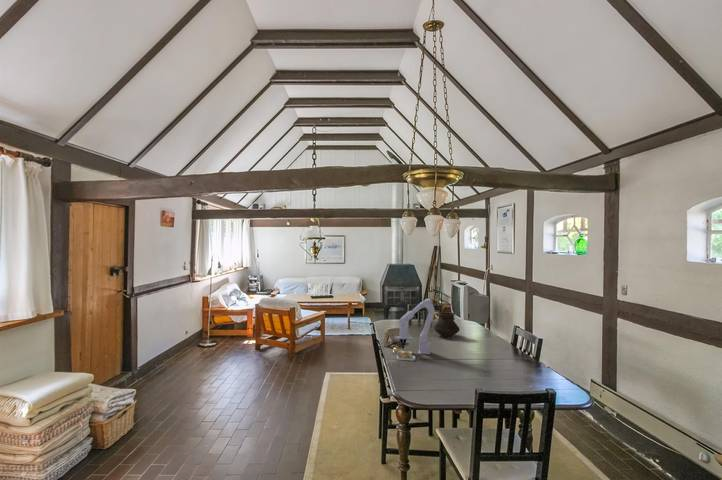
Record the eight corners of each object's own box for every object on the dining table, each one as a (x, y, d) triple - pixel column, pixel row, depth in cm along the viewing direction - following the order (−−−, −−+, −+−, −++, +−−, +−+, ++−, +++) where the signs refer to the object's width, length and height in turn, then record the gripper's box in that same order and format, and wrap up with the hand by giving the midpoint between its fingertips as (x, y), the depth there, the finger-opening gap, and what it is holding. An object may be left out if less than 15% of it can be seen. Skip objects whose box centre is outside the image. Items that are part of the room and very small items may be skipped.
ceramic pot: (464, 337, 355) (464, 314, 355) (446, 340, 343) (446, 316, 343) (446, 332, 376) (446, 310, 376) (428, 335, 364) (428, 312, 364)
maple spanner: (411, 356, 290) (411, 351, 290) (411, 358, 286) (411, 352, 286) (397, 355, 292) (397, 350, 292) (397, 357, 287) (397, 352, 287)
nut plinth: (402, 351, 309) (402, 349, 309) (401, 354, 300) (401, 353, 300) (391, 350, 310) (391, 349, 310) (390, 353, 301) (390, 352, 301)
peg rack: (415, 357, 292) (415, 352, 292) (415, 360, 283) (415, 355, 283) (397, 356, 294) (397, 351, 294) (396, 359, 285) (396, 354, 285)
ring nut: (400, 352, 302) (400, 348, 302) (392, 351, 302) (392, 347, 302) (400, 349, 310) (400, 345, 310) (393, 349, 311) (393, 345, 311)
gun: (385, 347, 321) (386, 329, 322) (382, 346, 323) (383, 328, 324) (400, 343, 340) (401, 327, 341) (397, 343, 342) (398, 326, 343)
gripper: (412, 331, 311) (411, 347, 311) (394, 330, 313) (394, 346, 313) (412, 333, 304) (411, 349, 304) (394, 332, 306) (394, 348, 306)
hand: (403, 348), depth 308 cm, fingers closed
